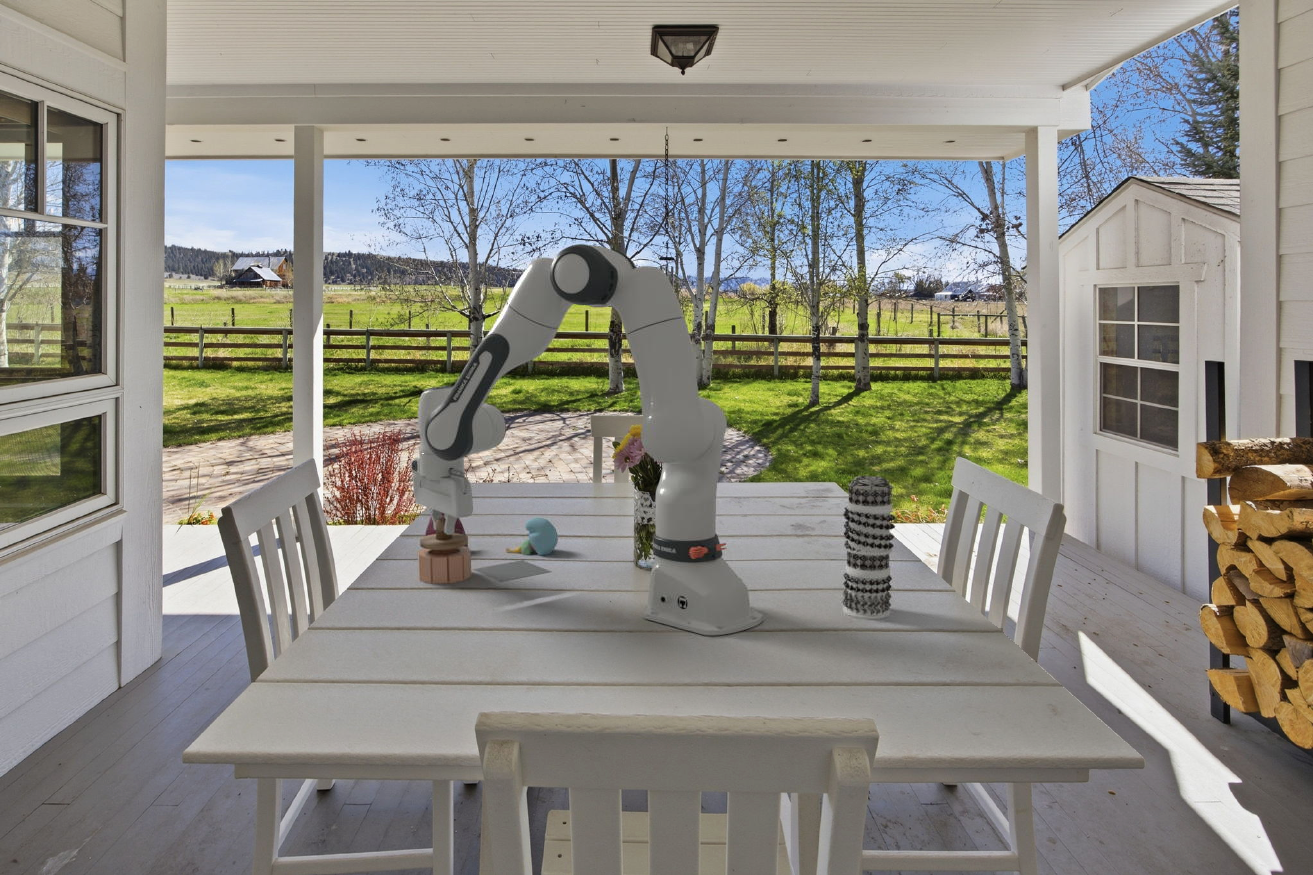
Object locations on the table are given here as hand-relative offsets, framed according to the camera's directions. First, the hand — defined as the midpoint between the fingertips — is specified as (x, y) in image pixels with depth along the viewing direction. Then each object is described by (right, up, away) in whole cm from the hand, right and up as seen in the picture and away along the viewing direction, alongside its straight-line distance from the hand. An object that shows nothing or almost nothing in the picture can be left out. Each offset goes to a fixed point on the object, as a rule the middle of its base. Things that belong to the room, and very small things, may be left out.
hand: (443, 532), depth 183 cm
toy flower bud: (+15, -8, +21) cm, 27 cm away
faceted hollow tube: (0, -10, +1) cm, 10 cm away
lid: (0, -3, 0) cm, 2 cm away
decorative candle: (+82, -13, -19) cm, 86 cm away
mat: (+13, -10, +5) cm, 17 cm away
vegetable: (-5, -8, +23) cm, 25 cm away
